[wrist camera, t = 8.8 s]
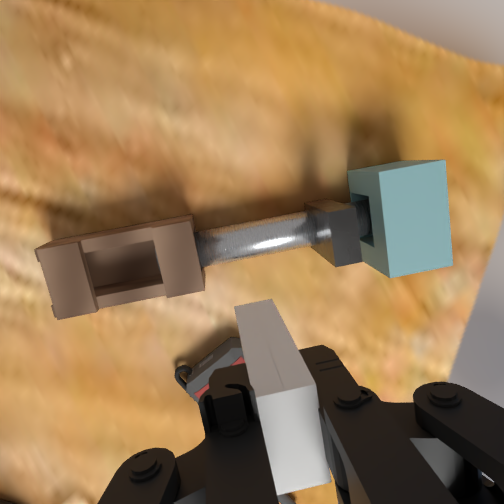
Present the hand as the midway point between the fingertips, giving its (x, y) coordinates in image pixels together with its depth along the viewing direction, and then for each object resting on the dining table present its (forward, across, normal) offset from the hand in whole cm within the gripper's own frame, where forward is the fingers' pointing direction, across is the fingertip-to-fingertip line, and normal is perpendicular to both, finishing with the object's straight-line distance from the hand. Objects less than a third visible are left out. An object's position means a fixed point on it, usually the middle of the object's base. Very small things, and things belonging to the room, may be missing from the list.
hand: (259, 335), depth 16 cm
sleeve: (+21, -9, 0) cm, 23 cm away
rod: (+20, +4, 0) cm, 21 cm away
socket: (+21, +14, 0) cm, 25 cm away
